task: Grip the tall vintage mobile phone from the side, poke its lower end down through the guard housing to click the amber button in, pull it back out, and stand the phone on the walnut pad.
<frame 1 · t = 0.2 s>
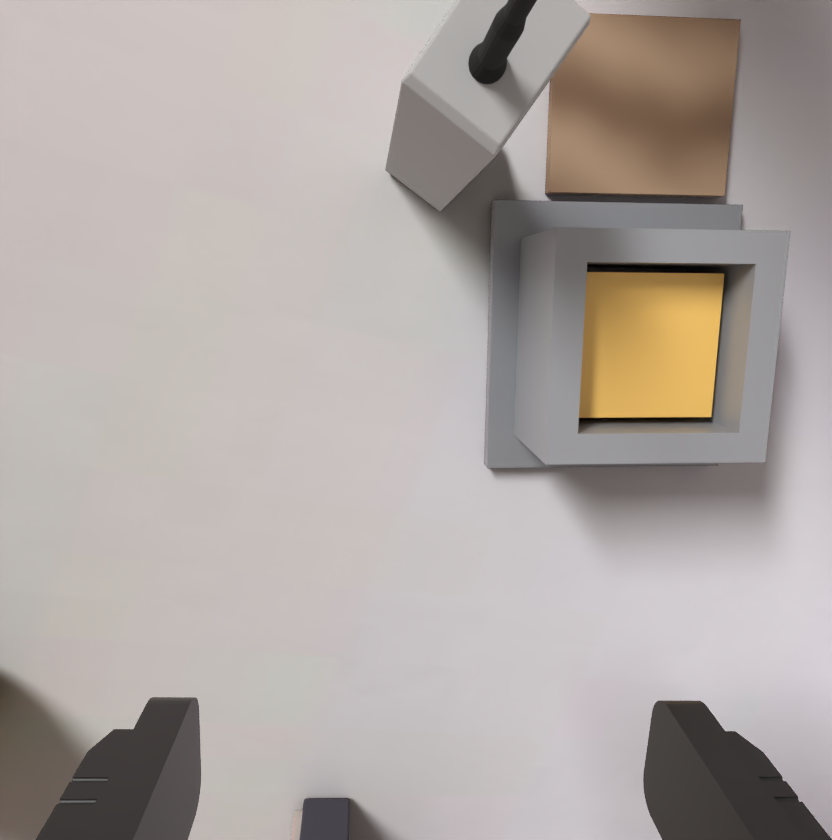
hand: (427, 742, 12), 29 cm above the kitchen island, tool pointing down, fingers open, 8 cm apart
guard housing: (606, 338, 40), on the kitchen island
vintage mobile phone: (438, 154, 37), on the kitchen island
walnut pad: (637, 110, 38), on the kitchen island
amber button: (636, 344, 35), point 4 cm above the kitchen island, slide at 0.0 cm
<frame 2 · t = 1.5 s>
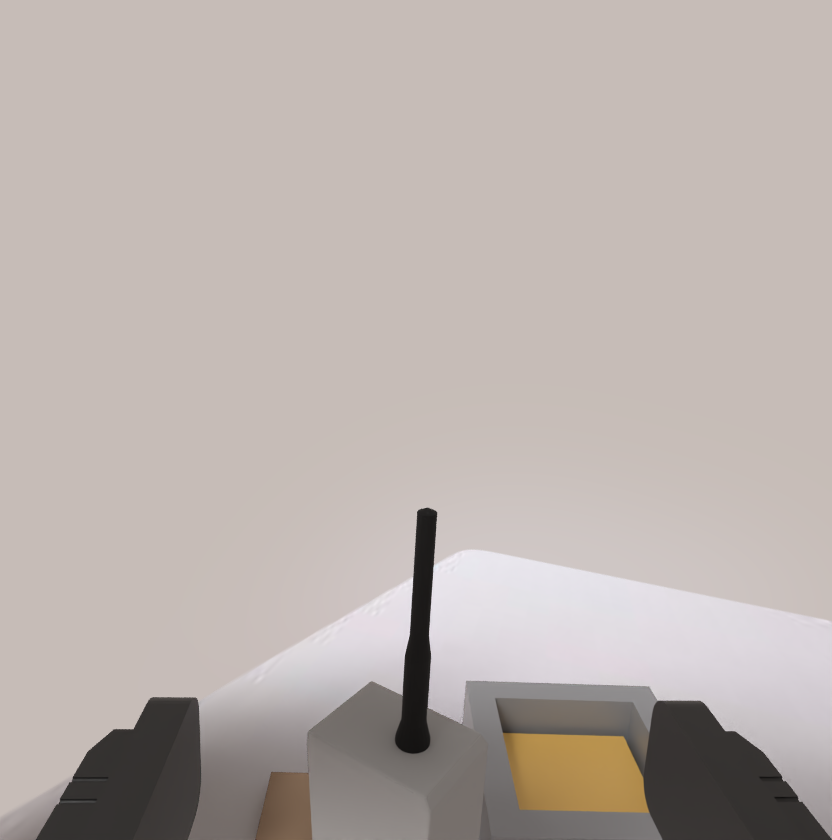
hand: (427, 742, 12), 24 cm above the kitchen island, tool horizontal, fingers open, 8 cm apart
amber button: (575, 805, 36), point 5 cm above the kitchen island, slide at 0.0 cm
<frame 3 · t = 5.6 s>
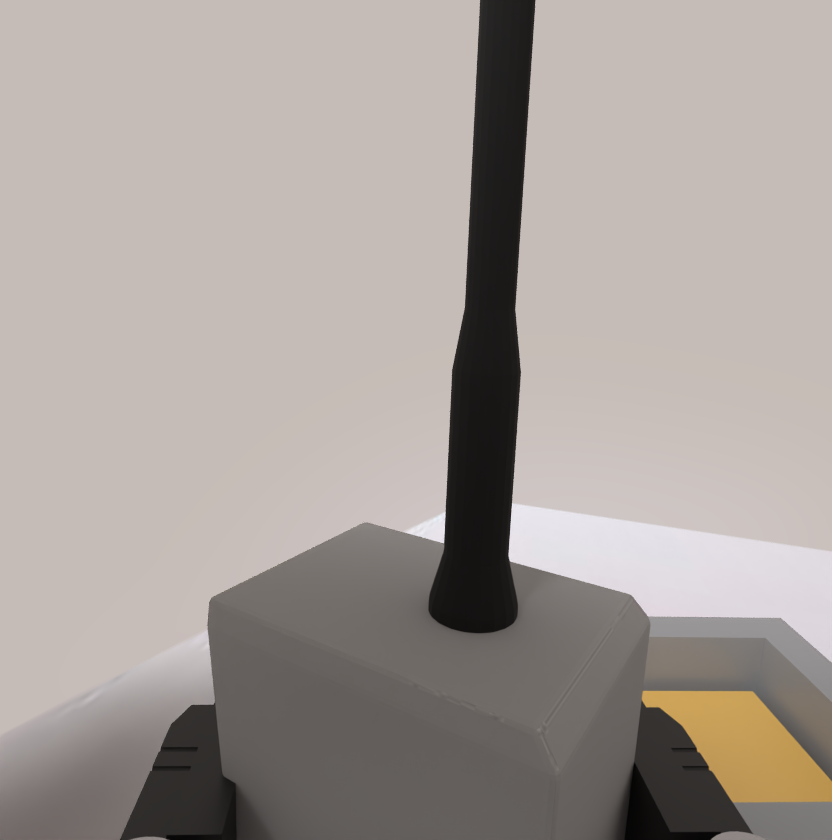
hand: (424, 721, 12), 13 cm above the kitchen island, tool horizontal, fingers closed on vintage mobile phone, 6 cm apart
amber button: (698, 798, 22), point 5 cm above the kitchen island, slide at 0.0 cm
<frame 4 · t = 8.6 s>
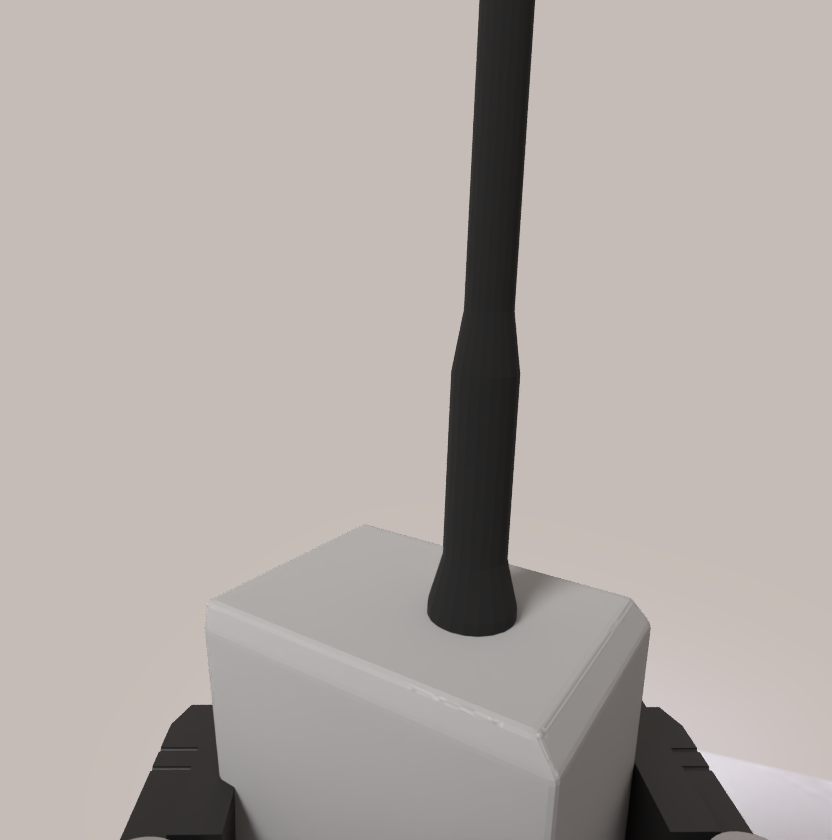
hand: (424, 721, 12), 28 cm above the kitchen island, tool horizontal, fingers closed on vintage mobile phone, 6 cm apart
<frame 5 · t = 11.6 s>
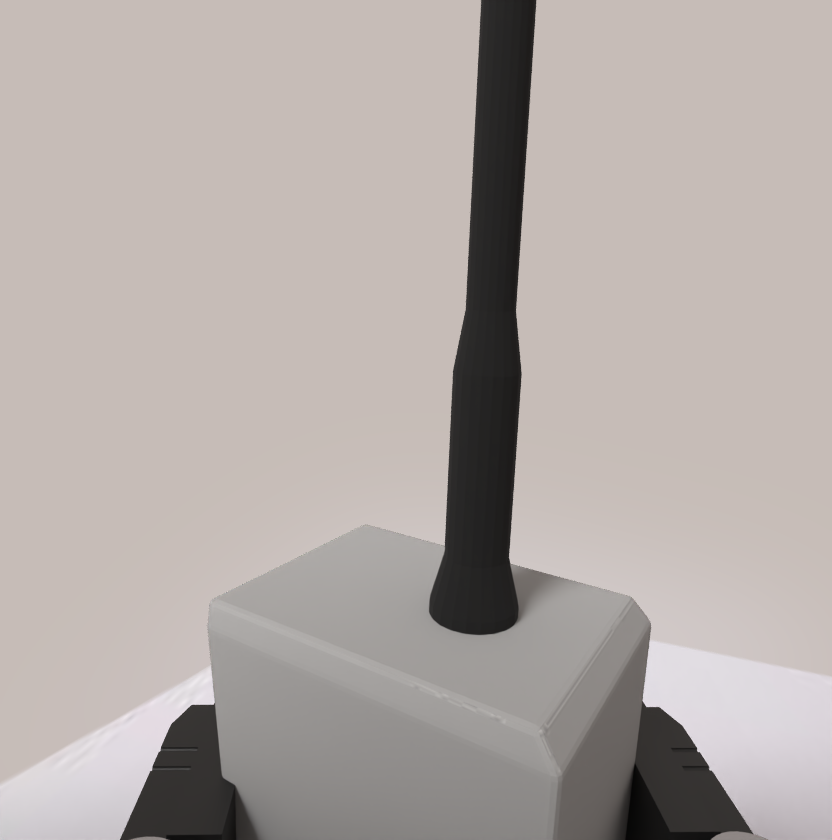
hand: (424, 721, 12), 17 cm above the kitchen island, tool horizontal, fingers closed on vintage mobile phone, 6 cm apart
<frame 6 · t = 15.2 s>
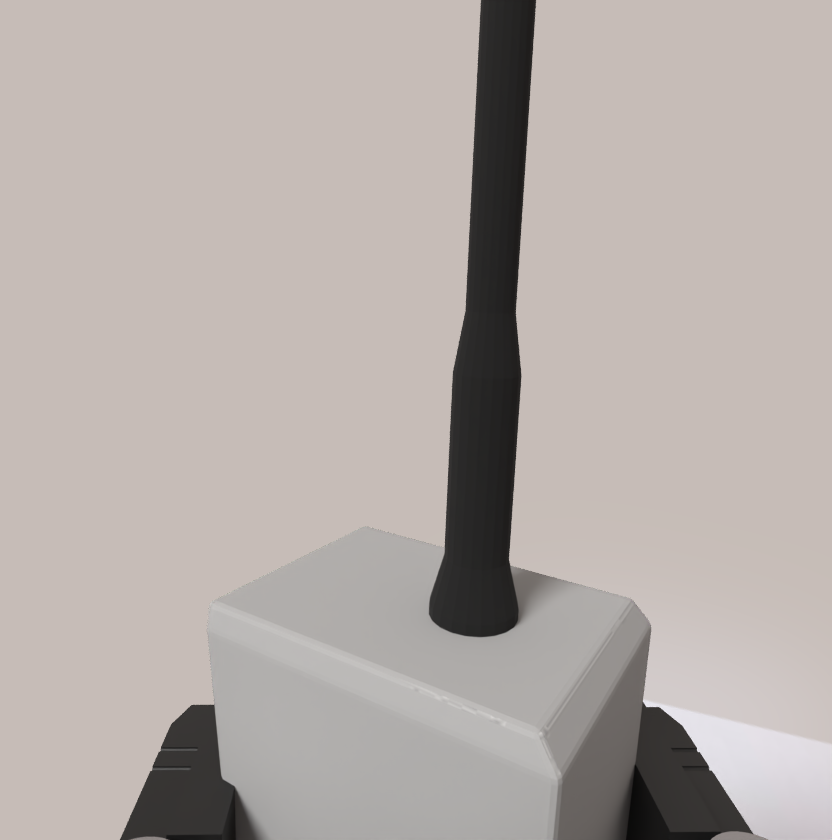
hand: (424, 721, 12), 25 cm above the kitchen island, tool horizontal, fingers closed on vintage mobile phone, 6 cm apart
when the fingers open (14 cm above the kitchen island, at t = 17.9 s): vintage mobile phone stays where it is, resting on walnut pad.
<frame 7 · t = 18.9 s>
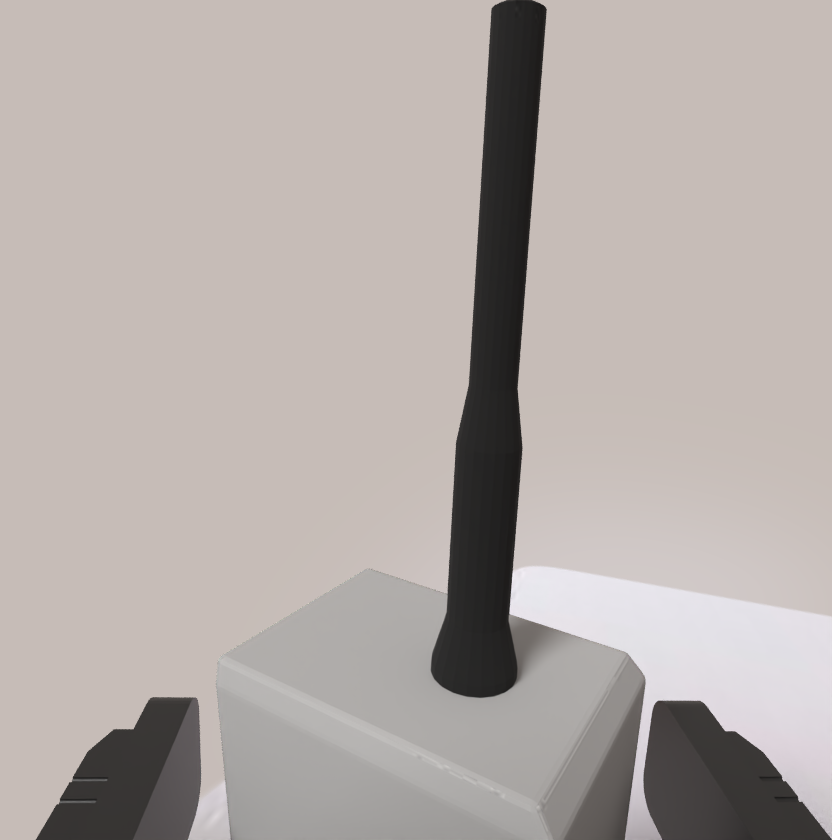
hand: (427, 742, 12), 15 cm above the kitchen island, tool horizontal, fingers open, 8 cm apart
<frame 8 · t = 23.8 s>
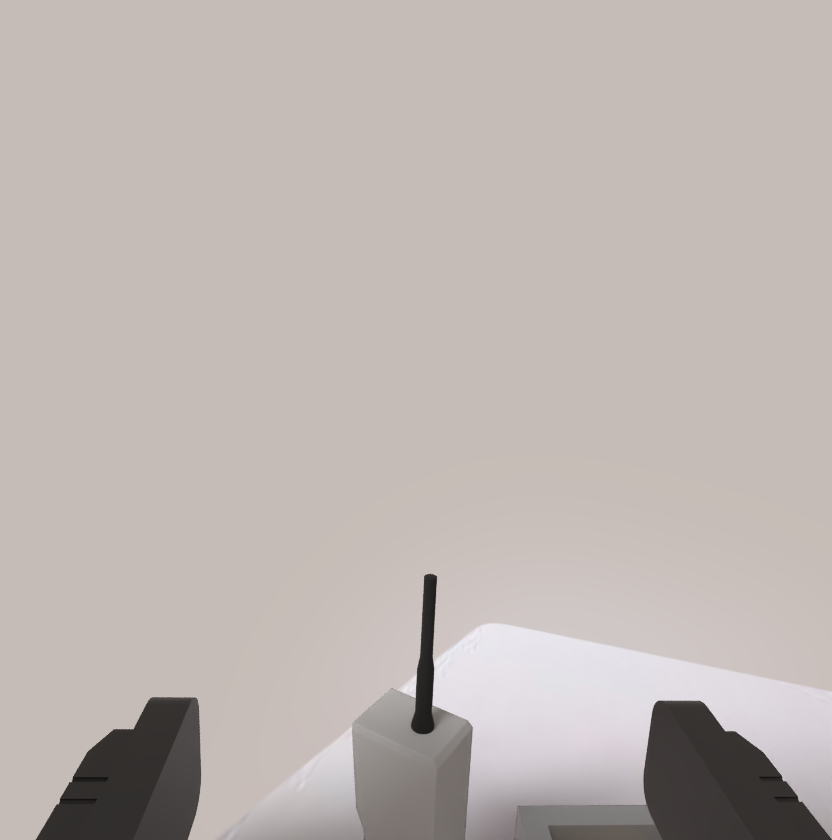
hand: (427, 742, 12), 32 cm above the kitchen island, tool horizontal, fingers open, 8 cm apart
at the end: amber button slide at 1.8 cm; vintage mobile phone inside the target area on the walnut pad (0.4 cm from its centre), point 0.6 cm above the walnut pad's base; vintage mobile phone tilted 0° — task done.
